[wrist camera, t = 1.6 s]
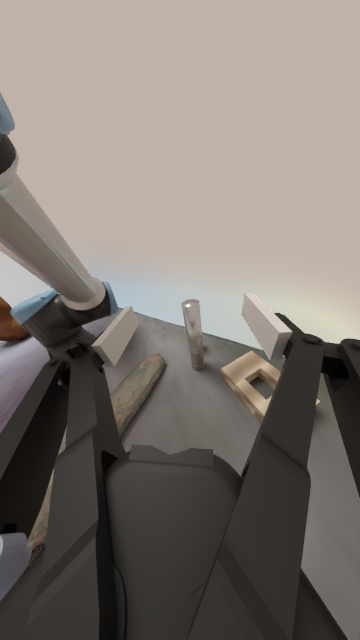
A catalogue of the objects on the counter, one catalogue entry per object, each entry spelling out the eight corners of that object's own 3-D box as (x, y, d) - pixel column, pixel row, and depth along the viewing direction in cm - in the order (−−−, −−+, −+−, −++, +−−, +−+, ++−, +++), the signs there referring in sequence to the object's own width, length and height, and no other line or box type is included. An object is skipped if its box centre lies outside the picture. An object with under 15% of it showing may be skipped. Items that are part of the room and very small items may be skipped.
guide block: (220, 376, 33) (221, 368, 31) (249, 359, 35) (251, 350, 34) (276, 442, 22) (282, 436, 20) (311, 409, 24) (320, 401, 23)
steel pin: (189, 363, 37) (178, 303, 26) (200, 358, 38) (193, 297, 27) (196, 372, 35) (186, 309, 24) (206, 366, 36) (202, 303, 25)
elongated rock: (175, 366, 39) (151, 358, 44) (172, 354, 37) (146, 347, 42) (18, 608, 14) (3, 526, 19) (-28, 623, 12) (-31, 524, 17)
